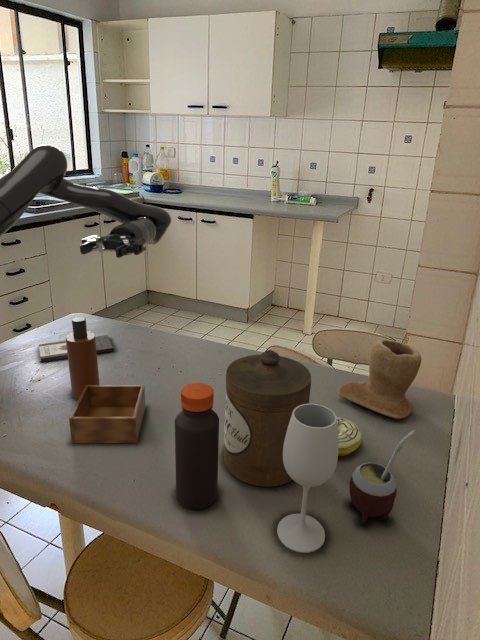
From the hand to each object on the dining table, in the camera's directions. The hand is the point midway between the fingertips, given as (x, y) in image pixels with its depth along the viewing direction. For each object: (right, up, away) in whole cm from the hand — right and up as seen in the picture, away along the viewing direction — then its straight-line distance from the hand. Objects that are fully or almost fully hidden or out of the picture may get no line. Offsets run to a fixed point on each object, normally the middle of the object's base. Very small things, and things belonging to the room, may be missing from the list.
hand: (99, 251), depth 103 cm
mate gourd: (+52, -46, -29) cm, 75 cm away
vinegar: (+24, -45, -27) cm, 57 cm away
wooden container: (+36, -41, -18) cm, 57 cm away
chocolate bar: (-13, -23, +21) cm, 34 cm away
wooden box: (+5, -36, -9) cm, 38 cm away
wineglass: (+40, -48, -33) cm, 71 cm away
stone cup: (+63, -34, +2) cm, 71 cm away
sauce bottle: (-3, -32, +1) cm, 32 cm away
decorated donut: (+49, -40, -12) cm, 64 cm away
